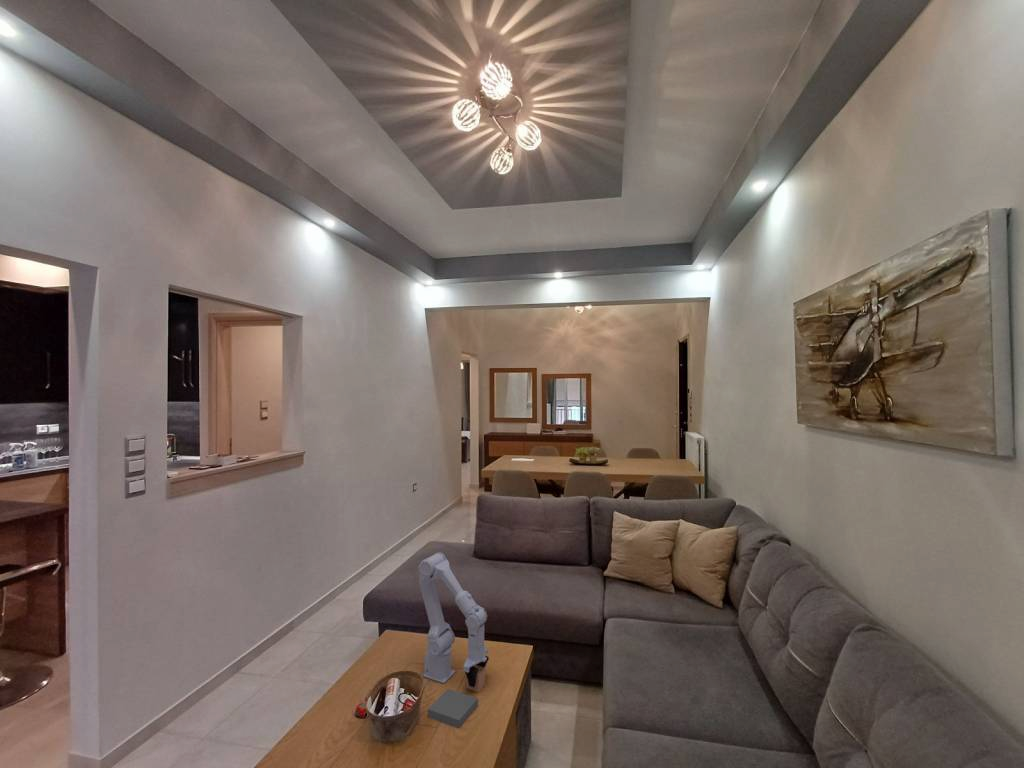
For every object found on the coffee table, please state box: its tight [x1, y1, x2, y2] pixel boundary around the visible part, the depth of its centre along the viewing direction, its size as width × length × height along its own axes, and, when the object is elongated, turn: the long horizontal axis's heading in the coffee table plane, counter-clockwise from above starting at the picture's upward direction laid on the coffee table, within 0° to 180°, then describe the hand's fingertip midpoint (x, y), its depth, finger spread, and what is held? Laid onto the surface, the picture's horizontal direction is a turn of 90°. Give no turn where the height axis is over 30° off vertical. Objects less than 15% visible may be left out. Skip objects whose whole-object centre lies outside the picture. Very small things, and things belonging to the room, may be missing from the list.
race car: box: [355, 697, 368, 719], centre depth 161 cm, size 13×5×4 cm, turn 138°
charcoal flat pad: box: [427, 688, 479, 729], centre depth 159 cm, size 12×12×3 cm
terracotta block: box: [465, 665, 486, 693], centre depth 173 cm, size 5×5×6 cm
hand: (475, 681), depth 173 cm, fingers closed on terracotta block, 5 cm apart
